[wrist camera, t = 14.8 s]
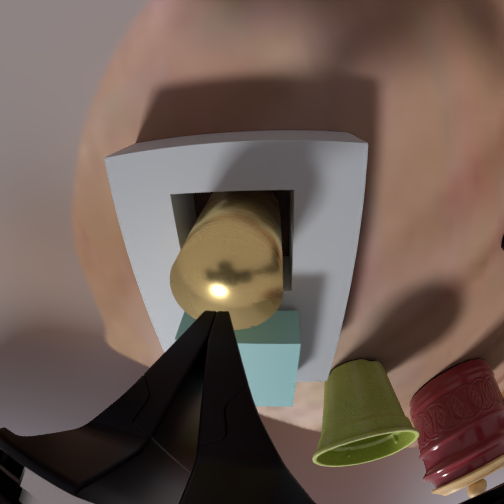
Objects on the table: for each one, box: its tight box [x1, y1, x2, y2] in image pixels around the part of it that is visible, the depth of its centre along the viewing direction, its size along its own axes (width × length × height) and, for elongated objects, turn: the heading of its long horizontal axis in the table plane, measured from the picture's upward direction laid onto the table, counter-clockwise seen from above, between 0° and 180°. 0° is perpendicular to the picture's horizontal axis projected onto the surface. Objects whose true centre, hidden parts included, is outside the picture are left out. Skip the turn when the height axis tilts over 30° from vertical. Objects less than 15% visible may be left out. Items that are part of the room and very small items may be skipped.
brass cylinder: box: [170, 190, 283, 330], centre depth 14 cm, size 4×4×7 cm
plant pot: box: [313, 359, 419, 467], centre depth 21 cm, size 9×9×9 cm
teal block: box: [175, 310, 301, 406], centre depth 16 cm, size 6×7×2 cm
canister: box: [410, 359, 504, 498], centre depth 19 cm, size 13×13×18 cm
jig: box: [104, 130, 368, 382], centre depth 17 cm, size 12×17×4 cm
